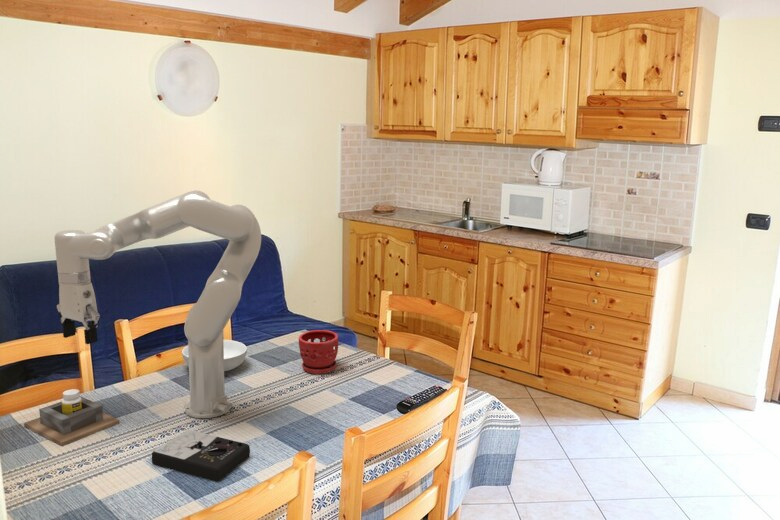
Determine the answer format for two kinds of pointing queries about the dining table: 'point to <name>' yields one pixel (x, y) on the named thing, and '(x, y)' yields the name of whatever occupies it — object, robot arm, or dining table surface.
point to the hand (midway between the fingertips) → (80, 339)
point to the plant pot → (318, 351)
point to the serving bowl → (226, 354)
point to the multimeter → (201, 455)
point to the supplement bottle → (71, 401)
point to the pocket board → (72, 434)
